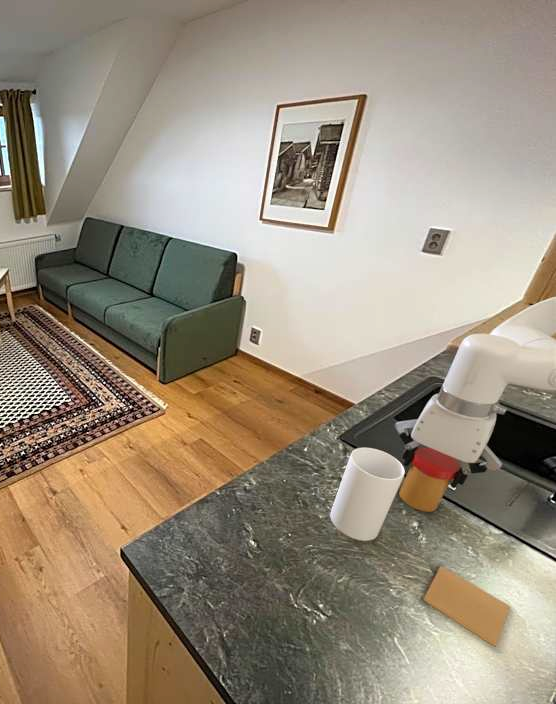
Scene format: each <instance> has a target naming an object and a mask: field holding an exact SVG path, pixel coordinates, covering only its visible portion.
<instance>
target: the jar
mask: <svg viewBox="0 0 556 704" xmlns="http://www.w3.org/2000/svg"><path fill="white" fill-rule="evenodd" d="M452 481H453V479H451V480H441V479H436V478H433V477H430V476H428V475H426V474H424V473H422V472H421V471H419V470H418V469H417V468H416V467H415V466H414V465H413V463H412V462H411V463H410V467H409V468H408V471H407V473H406V476H405V478H404V479H403V482H402V483H401V486H400V488H399V491H398V494H399V497H400V499H401V500H402V502H404V503H405V504H406V505H407V506H409V507H411V508H413V509H415V510H418V511H420V512H427V513H429V512H434V511H436V510H438V509H437V508H438V507H439V505H440V503H441V501H442V499H443V497H444V495H446V491H447V490H448V488H449V486H450V485H451V483H452Z"/></svg>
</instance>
